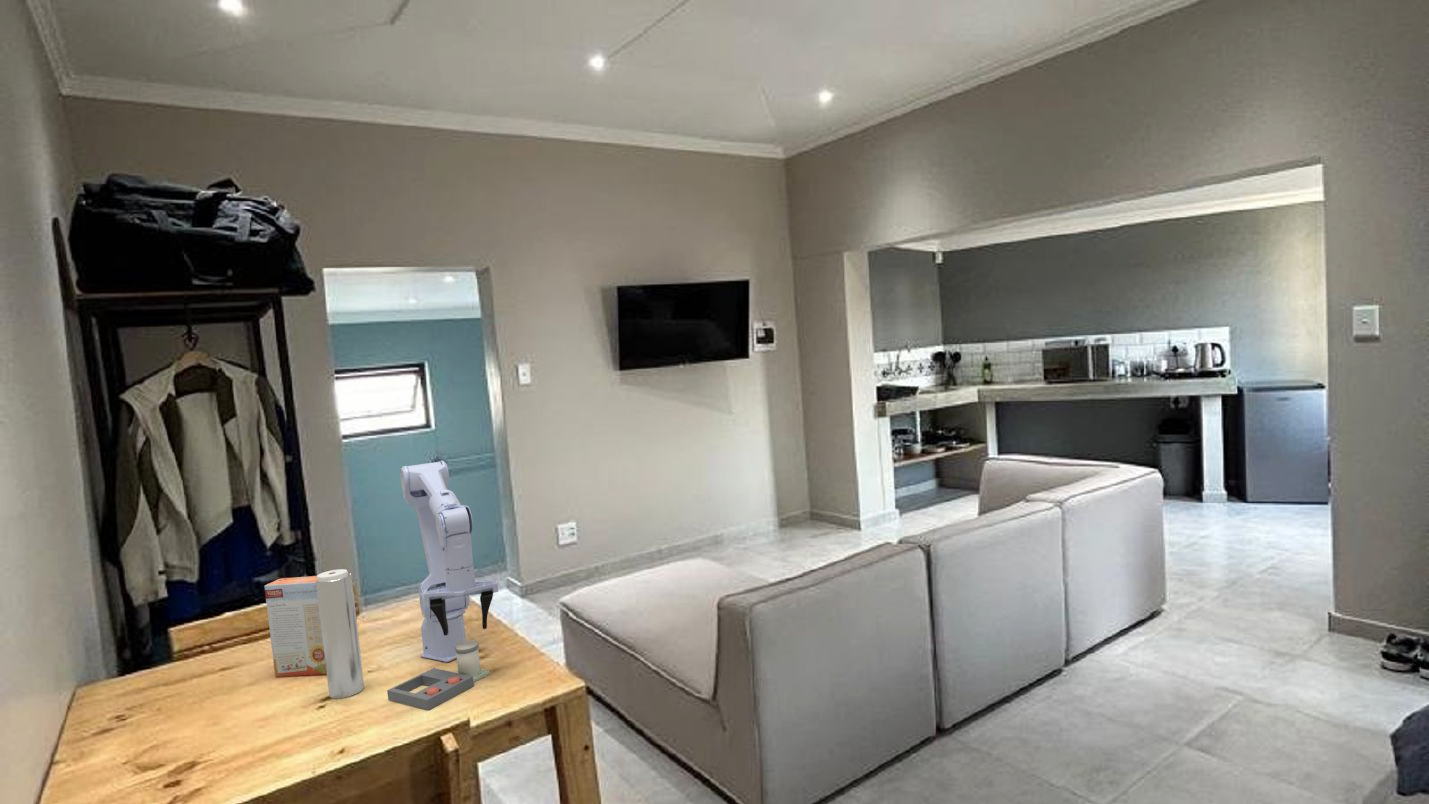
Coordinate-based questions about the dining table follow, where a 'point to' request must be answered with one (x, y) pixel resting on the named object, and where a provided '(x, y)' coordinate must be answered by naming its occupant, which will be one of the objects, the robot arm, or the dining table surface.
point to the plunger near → (432, 690)
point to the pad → (481, 675)
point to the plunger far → (453, 680)
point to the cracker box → (295, 627)
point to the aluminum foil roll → (339, 633)
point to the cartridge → (468, 658)
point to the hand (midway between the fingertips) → (465, 630)
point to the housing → (432, 680)
